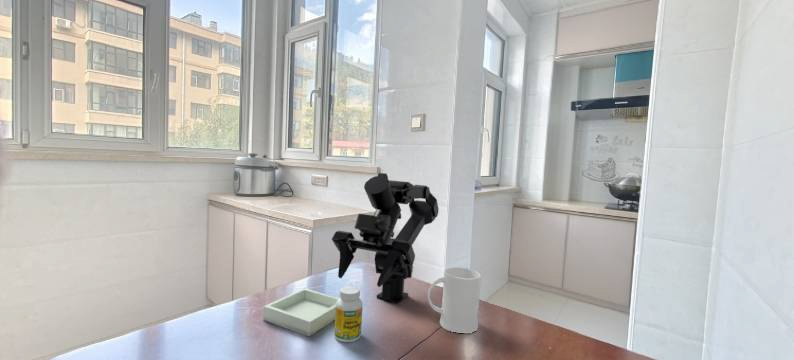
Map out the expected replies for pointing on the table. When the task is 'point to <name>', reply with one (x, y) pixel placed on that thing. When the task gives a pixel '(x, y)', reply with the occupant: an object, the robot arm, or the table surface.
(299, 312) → the tray
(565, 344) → the table surface
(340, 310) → the supplement bottle
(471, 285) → the mug
